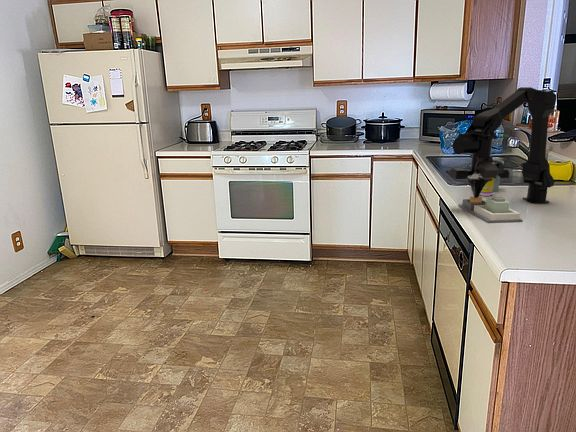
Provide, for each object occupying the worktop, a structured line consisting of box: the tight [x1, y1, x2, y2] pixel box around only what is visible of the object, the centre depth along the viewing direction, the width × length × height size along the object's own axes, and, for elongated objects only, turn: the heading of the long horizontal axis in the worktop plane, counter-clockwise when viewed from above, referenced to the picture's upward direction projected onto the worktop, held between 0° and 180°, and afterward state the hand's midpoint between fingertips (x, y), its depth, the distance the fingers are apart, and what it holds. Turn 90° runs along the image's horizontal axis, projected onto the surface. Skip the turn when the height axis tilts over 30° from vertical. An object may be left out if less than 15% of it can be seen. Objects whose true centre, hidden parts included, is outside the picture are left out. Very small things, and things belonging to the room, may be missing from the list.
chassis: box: [457, 198, 523, 224], centre depth 149 cm, size 20×12×3 cm, turn 6°
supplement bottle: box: [479, 178, 494, 197], centre depth 174 cm, size 7×7×13 cm
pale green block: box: [485, 196, 511, 213], centre depth 145 cm, size 6×4×6 cm
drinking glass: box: [493, 158, 505, 192], centre depth 182 cm, size 10×10×12 cm
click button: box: [469, 195, 483, 203], centre depth 154 cm, size 4×4×3 cm
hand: (476, 197), depth 154 cm, fingers closed, pressing on click button
